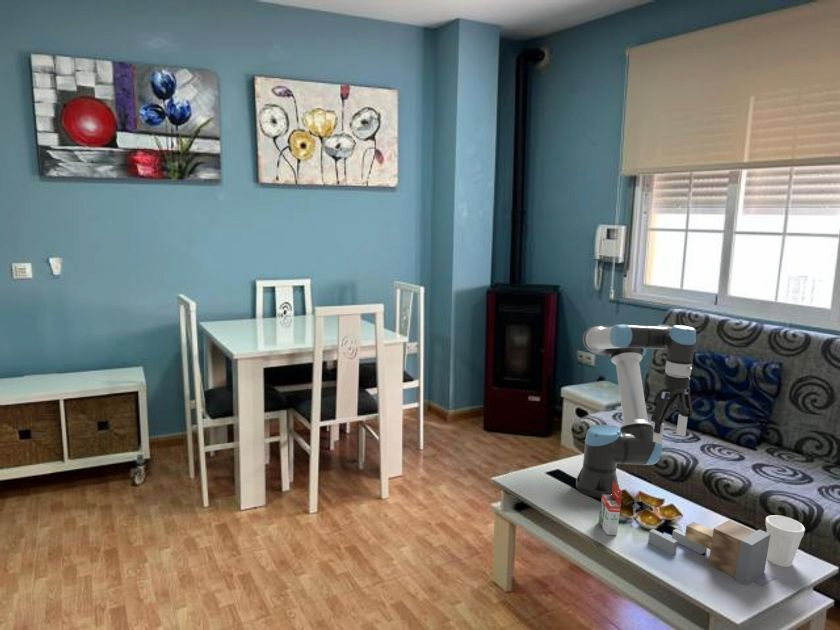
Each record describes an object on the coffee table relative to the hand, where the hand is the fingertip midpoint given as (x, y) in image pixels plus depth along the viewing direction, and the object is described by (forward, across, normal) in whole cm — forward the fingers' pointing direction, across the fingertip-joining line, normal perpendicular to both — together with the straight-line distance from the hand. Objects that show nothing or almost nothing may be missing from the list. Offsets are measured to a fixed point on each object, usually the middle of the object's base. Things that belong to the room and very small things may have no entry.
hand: (669, 438), depth 196 cm
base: (+29, -8, -22) cm, 37 cm away
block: (+28, -8, -28) cm, 40 cm away
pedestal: (+29, -16, -11) cm, 35 cm away
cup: (+29, +8, -34) cm, 45 cm away
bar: (+24, -8, -22) cm, 33 cm away
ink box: (+29, -19, +6) cm, 35 cm away
